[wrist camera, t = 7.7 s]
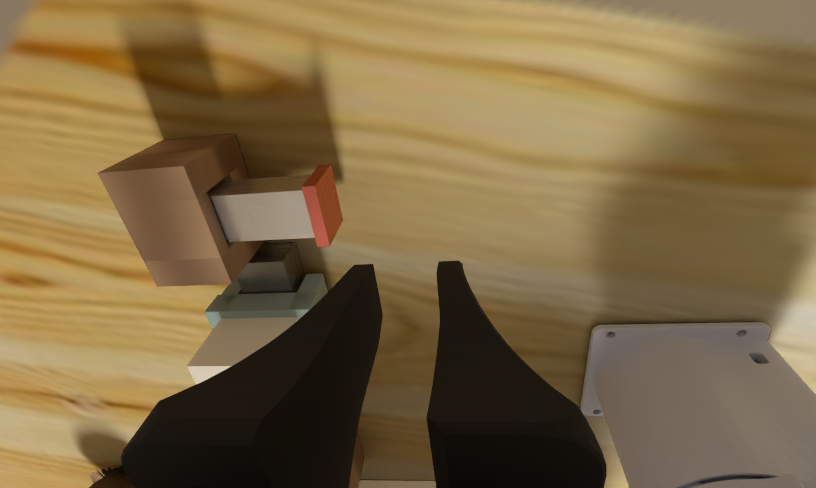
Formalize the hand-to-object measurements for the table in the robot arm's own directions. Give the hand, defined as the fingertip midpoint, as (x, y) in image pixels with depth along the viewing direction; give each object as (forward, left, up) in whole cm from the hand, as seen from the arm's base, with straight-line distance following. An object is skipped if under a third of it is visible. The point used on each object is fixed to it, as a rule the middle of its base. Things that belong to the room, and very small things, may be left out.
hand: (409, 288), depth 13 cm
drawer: (+7, 0, -8) cm, 11 cm away
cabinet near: (+12, 0, -9) cm, 15 cm away
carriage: (+10, +8, -9) cm, 16 cm away
